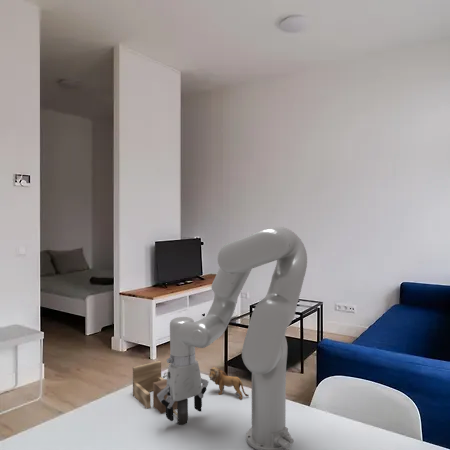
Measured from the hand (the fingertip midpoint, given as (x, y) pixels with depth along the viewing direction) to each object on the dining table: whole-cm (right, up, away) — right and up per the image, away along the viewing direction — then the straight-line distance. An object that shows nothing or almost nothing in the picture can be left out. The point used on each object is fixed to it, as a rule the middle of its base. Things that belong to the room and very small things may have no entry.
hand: (184, 414), depth 122 cm
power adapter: (-8, -2, +31) cm, 32 cm away
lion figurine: (+13, -2, +19) cm, 23 cm away
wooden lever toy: (-4, -2, +6) cm, 7 cm away
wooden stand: (-12, -2, +17) cm, 21 cm away
